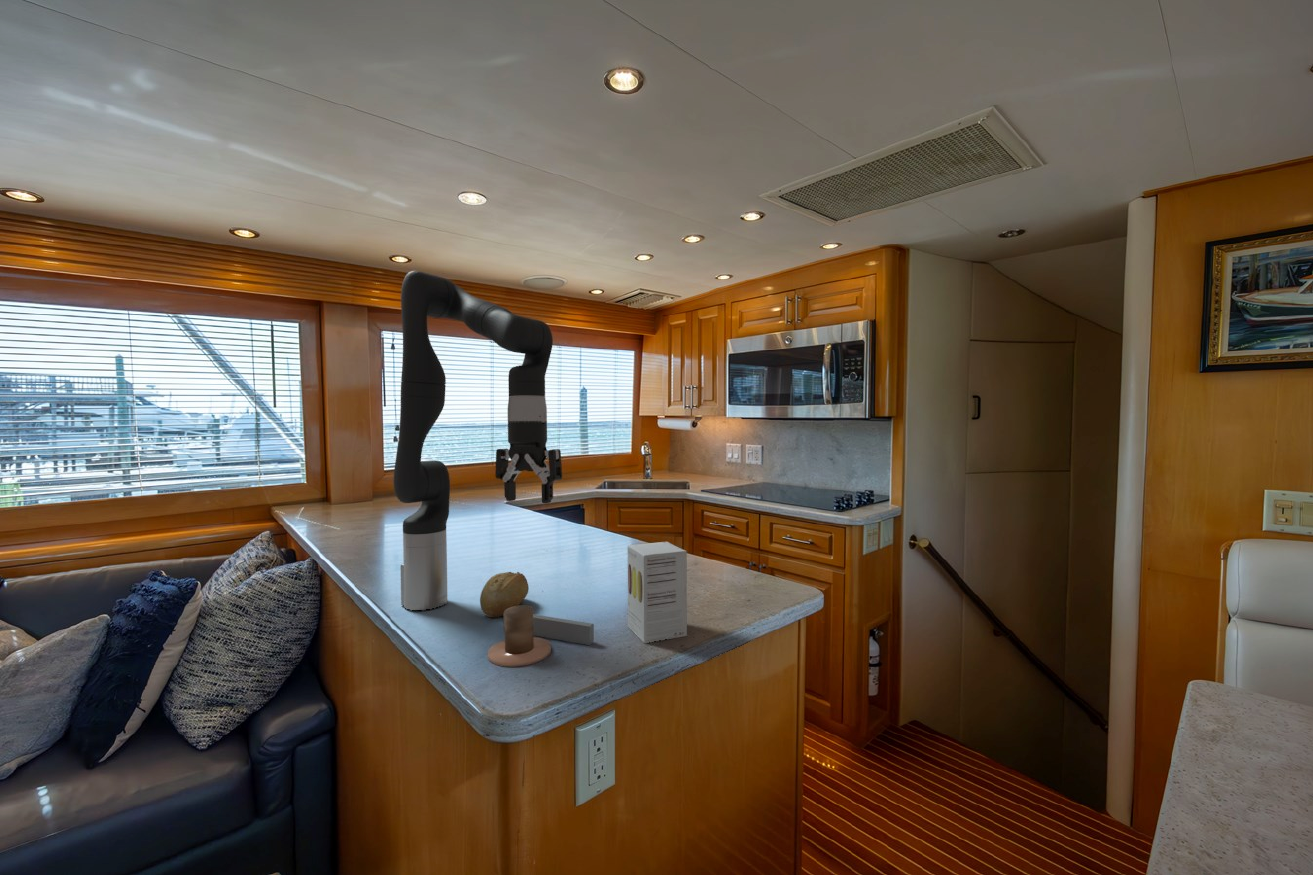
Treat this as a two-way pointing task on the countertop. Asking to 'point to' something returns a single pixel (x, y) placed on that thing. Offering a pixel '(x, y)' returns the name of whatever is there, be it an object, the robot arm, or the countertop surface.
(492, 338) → the robot arm
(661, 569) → the supplement box
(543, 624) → the plastic fence
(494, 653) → the terracotta saucer
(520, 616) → the walnut cylinder
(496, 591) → the bread roll
